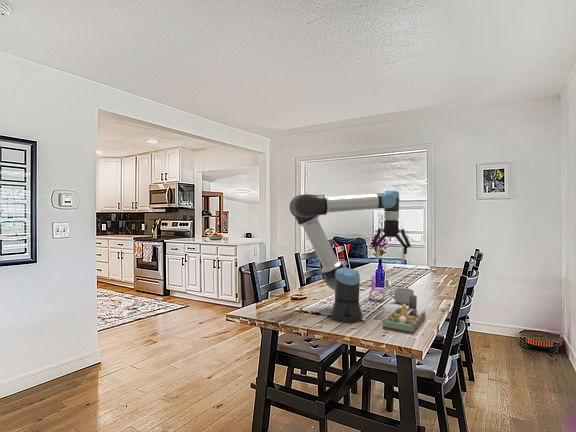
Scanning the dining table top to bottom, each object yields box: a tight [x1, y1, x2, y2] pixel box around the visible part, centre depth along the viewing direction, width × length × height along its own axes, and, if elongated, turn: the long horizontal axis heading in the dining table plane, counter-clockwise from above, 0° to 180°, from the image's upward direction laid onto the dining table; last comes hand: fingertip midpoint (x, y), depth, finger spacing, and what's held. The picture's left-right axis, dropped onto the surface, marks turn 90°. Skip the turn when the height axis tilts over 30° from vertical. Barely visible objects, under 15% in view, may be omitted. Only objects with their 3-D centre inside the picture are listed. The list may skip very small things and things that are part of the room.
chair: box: [367, 274, 386, 303], centre depth 216 cm, size 8×9×15 cm
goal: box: [382, 317, 414, 331], centre depth 163 cm, size 8×13×2 cm, turn 60°
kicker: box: [394, 295, 418, 323], centre depth 178 cm, size 21×9×9 cm, turn 150°
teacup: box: [388, 287, 415, 306], centre depth 212 cm, size 14×11×8 cm
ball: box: [399, 316, 407, 324], centre depth 168 cm, size 4×4×4 cm
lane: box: [382, 307, 427, 335], centre depth 172 cm, size 28×13×4 cm, turn 150°
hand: (390, 259), depth 198 cm, fingers open, 13 cm apart
